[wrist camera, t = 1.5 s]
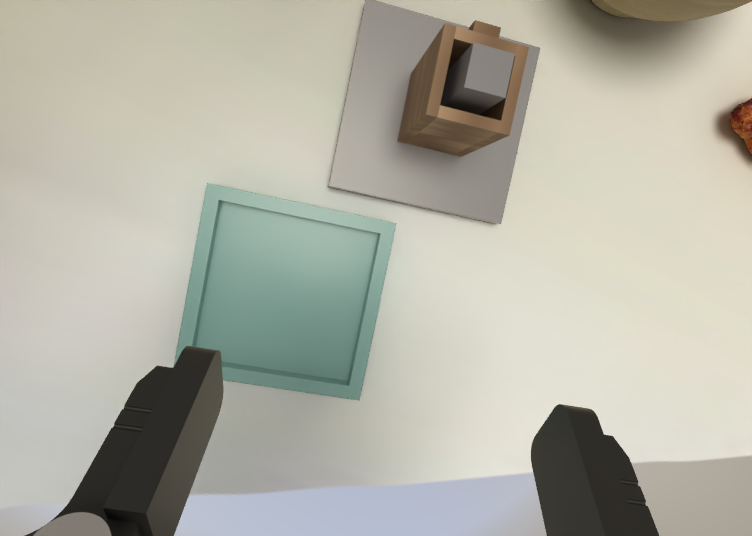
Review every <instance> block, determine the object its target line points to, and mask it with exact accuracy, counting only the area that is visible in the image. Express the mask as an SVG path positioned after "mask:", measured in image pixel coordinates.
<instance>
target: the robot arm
mask: <svg viewBox="0 0 752 536" xmlns="http://www.w3.org/2000/svg"><path fill="white" fill-rule="evenodd" d="M222 398H223V376H222V360H221V352H220V351H219V350H213V349H206V348H200V347H193V346H186V347H185V348H184V349H183V350H182V352H181V354H180V356H179V358H178V360H177V362H176V364H175V366H174V368H168V367H162V366H156V367H155V368H154V369H153V370H152V371H151V372H149V373H148V374H147V375H146V376H145V377H144V378H142V379H141V380H140V381H139V382H138V383H137V384H136V386H135V388H134V389H133V391H132V393H131V395H130V396H129V398H128V400H127V402H126V404H125V407H124V409H123V410H122V411H121V412H120V414H119V416H118V418H117V420H116V421H115V423H114V427H113V428H111V430H110V432H109V434H108V435H107V437H106V439H105V441H104V443H103V444H102V446H101V448H100V450H99V451H98V453H97V455H96V457H95V458H94V460H93V462H92V464H91V466H90V467H89V469H88V471H87V473H86V474H85V476H84V478H83V480H82V482H81V483H80V485H79V487H78V489H77V490H76V492H75V494H74V496H73V497H72V499H71V500H70V502H69V503H68V505H67V506H66V507H65V508H64V509H63V510H62V512H60V513H59V515H57V516H56V517H55V518H54V519H53V520H51V521H50V522H49V523H48V524H46V525H45V526H43V527H41V528H40V529H38V530H36V531H34V532H32V533H30V534H28V535H25V536H174V533H175V531H176V528H177V525H178V523H179V520H180V517H181V515H182V512H183V509H184V506H185V504H186V501H187V498H188V496H189V493H190V490H191V488H192V485H193V482H194V480H195V477H196V474H197V472H198V469H199V466H200V463H201V461H202V458H203V455H204V453H205V450H206V447H207V445H208V442H209V439H210V437H211V434H212V431H213V429H214V426H215V423H216V421H217V418H218V415H219V412H220V408H221V404H222ZM531 462H532V468H533V472H534V477H535V482H536V486H537V491H538V496H539V500H540V505H541V510H542V515H543V519H544V524H545V529H546V533H547V536H659V534H658V531H657V529H656V526H655V524H654V521H653V518H652V516H651V513H650V511H649V508H648V506H646V505H645V502H646V500H645V498H644V495H643V493H642V490H641V488H640V486H638V480H637V477H636V475H635V472H634V469H633V467H632V464H631V462H630V459H629V457H628V456H627V455H626V453H625V452H624V451H623V449H622V448H621V447H620V445H619V444H618V443H617V441H616V440H615V439H614V437H613V436H609V435H604V434H603V431H602V428H601V426H600V423H599V420H598V417H597V415H596V414H595V412H594V411H593V410H591V409H587V408H581V407H574V406H568V405H561V404H559V405H557V406H556V407H555V408H554V409H553V411H552V412H551V414H550V415H549V417H548V418H547V420H546V421H545V423H544V424H543V426H542V427H541V428H540V430H539V431H538V433H537V434H536V436H535V437H534V440H533V443H532V447H531Z"/></svg>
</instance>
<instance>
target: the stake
mask: <svg viewBox="0 0 752 536" xmlns="http://www.w3.org/2000/svg"><path fill="white" fill-rule="evenodd" d="M445 23H447V24H451V25H454V26H458V27H461V28H464V29H469V27H466V26H462V25H459V24H455V23H452V22H448V21H445V20H441V19H438V18H434V17H431V16H427V15H424V14H420V13H417V12H413V11H410V10H406V9H403V8H400V7H396V6H393V5H389V4H386V3H382V2H379V1H375V0H365V4H364V9H363V14H362V19H361V24H360V29H359V35H358V40H357V45H356V50H355V55H354V60H353V65H352V70H351V75H350V80H349V85H348V90H347V95H346V100H345V105H344V110H343V116H342V121H341V126H340V131H339V136H338V141H337V146H336V151H335V156H334V161H333V166H332V171H331V176H330V181H329V186H328V187H330V188H335V189H339V190H344V191H348V192H353V193H357V194H362V195H366V196H371V197H375V198H380V199H385V200H389V201H394V202H398V203H403V204H407V205H412V206H416V207H421V208H425V209H430V210H435V211H439V212H444V213H448V214H453V215H457V216H462V217H466V218H471V219H475V220H480V221H484V222H489V223H494V224H501V222H502V217H503V213H504V208H505V204H506V199H507V195H508V190H509V186H510V181H511V177H512V172H513V168H514V163H515V159H516V154H517V150H518V145H519V141H520V136H521V132H522V127H523V123H524V118H525V114H526V109H527V105H528V100H529V96H530V91H531V87H532V82H533V78H534V73H535V69H536V64H537V60H538V55H539V51H540V48H539V47H535V46H532V45H528V44H525V43H521V42H518V41H514V40H511V39H507V38H504V37H500V36H499V39H503V40H506V41H510V42H513V43H517V44H520V45H524V46H527V47H529V50H528V55H527V59H526V64H525V68H524V73H523V77H522V82H521V86H520V91H519V95H518V100H517V104H516V109H515V113H514V118H513V123H512V127H511V132H510V136H507V137H505V138H503V139H501V140H498V141H496V142H494V143H492V144H489V145H487V146H485V147H482V148H480V149H478V150H476V151H473V152H471V153H469V154H467V155H464V156H462V157H459V156H455V155H451V154H447V153H443V152H439V151H434V150H430V149H426V148H422V147H418V146H414V145H410V144H405V143H401V142H397V139H398V134H399V129H400V124H401V120H402V115H403V110H404V105H405V100H406V95H407V90H408V86H409V81H410V76H411V72H412V71H413V70H414V68H415V67H416V65H417V64H418V62H419V61H420V59H421V58H422V56H423V55H424V53H425V52H426V50H427V49H428V47H429V46H430V44H431V43H432V41H433V40H434V38H435V37H436V36H437V34H438V33H439V31H440V30H441V28H442V27H443V25H444V24H445ZM514 57H515V54H514V53H510V52H507V51H503V50H500V49H496V48H493V47H489V46H485V45H482V44H478V43H475V42H474V43H473V44H472V45H471V46H470V47H469V48H468V49H467V50H466V51H465V52H464V54H463V55H462V56H461V57H460V58H459V59H458V60H457V61H456V62H455V63H454V65H453V66H452V67H451V68H450V69H449V70H448V71H447V74H446V79H445V84H444V89H443V93H442V98H441V103H440V105H441V106H445V107H449V108H453V109H457V110H461V111H465V112H469V113H473V114H476V115H480V114H481V113H483V112H484V111H486V110H487V109H489V108H491V107H492V106H494V105H495V104H497V103H498V102H500V101H502V100H503V99H505V98H506V93H507V89H508V84H509V79H510V75H511V70H512V66H513V61H514Z"/></svg>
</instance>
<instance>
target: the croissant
mask: <svg viewBox="0 0 752 536" xmlns="http://www.w3.org/2000/svg"><path fill="white" fill-rule="evenodd" d="M730 121H732V122H731V126H732V128H733V131H735V132H736V133H738V134H739V136H740V137H742V138H743V139H744V140H745V143H746V146H747V149H748V150H749V151H750V153H751V155H752V98H751V99H750V100H748V101H747V102H745V103H742V104H739V105H738V106H737V107H736V108H735V109H734V110H733V111H732V112H731V119H730Z"/></svg>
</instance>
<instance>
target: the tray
mask: <svg viewBox="0 0 752 536" xmlns="http://www.w3.org/2000/svg"><path fill="white" fill-rule="evenodd" d="M395 226H396V223H392V222H388V221H383V220H378V219H374V218H369V217H364V216H359V215H355V214H350V213H345V212H341V211H336V210H331V209H327V208H322V207H317V206H312V205H308V204H303V203H298V202H294V201H289V200H284V199H280V198H275V197H270V196H265V195H261V194H256V193H251V192H247V191H242V190H237V189H233V188H228V187H223V186H218V185H214V184H209V183H207V185H206V191H205V196H204V202H203V207H202V213H201V218H200V224H199V229H198V235H197V240H196V246H195V251H194V257H193V263H192V268H191V274H190V279H189V285H188V290H187V296H186V301H185V307H184V312H183V318H182V323H181V329H180V334H179V340H178V345H177V351H176V356H175V362H174V366H175V364H176V362H177V360H178V358H179V356H180V354H181V352H182V350H183V349H184V348H185V347H186V346H193V347H200V348H206V349H213V350H219V351H220V352H221V360H222V376H223V380H226V381H233V382H240V383H246V384H253V385H260V386H266V387H273V388H280V389H286V390H293V391H300V392H306V393H313V394H320V395H326V396H333V397H340V398H347V399H353V400H360V395H361V390H362V385H363V380H364V376H365V371H366V366H367V361H368V356H369V352H370V347H371V342H372V337H373V332H374V328H375V323H376V318H377V313H378V308H379V303H380V299H381V294H382V289H383V284H384V279H385V275H386V270H387V265H388V260H389V255H390V251H391V246H392V241H393V236H394V231H395Z"/></svg>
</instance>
